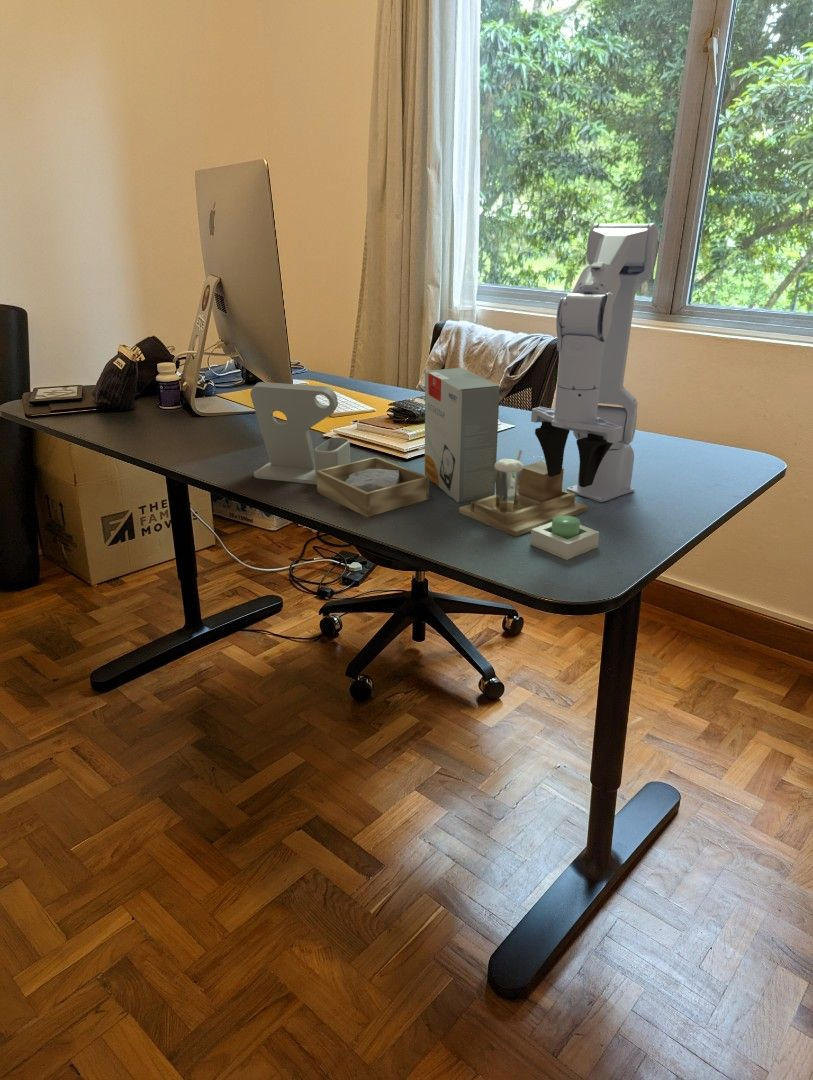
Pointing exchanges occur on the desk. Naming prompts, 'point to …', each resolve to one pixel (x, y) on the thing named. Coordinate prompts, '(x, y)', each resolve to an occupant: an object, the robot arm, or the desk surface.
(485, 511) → the pallet
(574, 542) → the cream square tray
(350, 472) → the wooden tray
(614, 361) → the robot arm
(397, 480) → the stone block
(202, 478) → the desk surface
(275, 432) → the phone holder
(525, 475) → the walnut block
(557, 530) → the button
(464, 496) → the hard drive box
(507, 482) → the milkshake
